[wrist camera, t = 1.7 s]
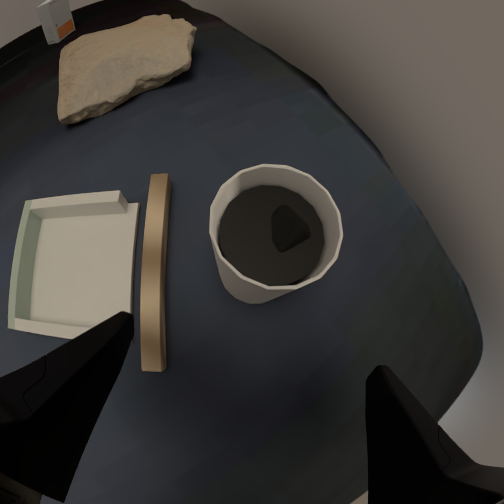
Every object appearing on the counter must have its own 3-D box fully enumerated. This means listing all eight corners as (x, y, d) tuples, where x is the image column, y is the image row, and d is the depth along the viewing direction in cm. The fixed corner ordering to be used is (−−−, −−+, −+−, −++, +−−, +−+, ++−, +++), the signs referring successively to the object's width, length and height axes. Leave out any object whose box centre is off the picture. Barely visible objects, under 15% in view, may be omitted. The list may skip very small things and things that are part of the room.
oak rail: (166, 368, 19) (161, 371, 17) (148, 367, 19) (141, 370, 17) (171, 185, 24) (168, 173, 22) (155, 185, 24) (151, 174, 22)
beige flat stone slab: (166, 25, 35) (63, 55, 29) (168, -6, 28) (56, 25, 22) (208, 91, 31) (59, 140, 24) (215, 46, 24) (40, 98, 17)
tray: (139, 205, 23) (130, 189, 20) (132, 343, 20) (119, 344, 17) (40, 213, 22) (25, 200, 19) (26, 330, 18) (7, 327, 15)
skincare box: (59, 42, 32) (46, 3, 20) (48, 45, 32) (35, 8, 20) (76, 29, 34) (66, -10, 22) (65, 31, 33) (54, -5, 22)
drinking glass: (263, 217, 24) (289, 146, 14) (309, 279, 23) (366, 241, 13) (198, 257, 22) (182, 201, 13) (244, 325, 21) (262, 320, 12)
